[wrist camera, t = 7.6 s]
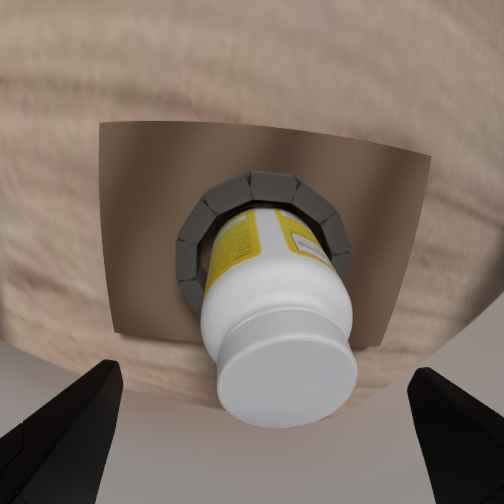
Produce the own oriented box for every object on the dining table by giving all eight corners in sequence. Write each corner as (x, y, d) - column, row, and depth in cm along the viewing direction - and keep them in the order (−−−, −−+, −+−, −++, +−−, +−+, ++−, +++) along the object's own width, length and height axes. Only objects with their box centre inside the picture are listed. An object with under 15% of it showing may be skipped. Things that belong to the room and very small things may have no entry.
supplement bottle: (214, 294, 18) (198, 442, 9) (210, 200, 16) (174, 310, 7) (309, 292, 18) (358, 432, 9) (317, 201, 16) (404, 303, 7)
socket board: (418, 153, 16) (450, 161, 13) (372, 333, 21) (389, 364, 18) (110, 122, 15) (82, 123, 12) (121, 319, 20) (104, 351, 17)
